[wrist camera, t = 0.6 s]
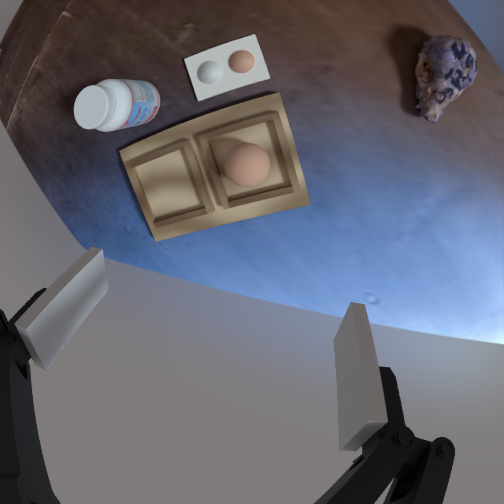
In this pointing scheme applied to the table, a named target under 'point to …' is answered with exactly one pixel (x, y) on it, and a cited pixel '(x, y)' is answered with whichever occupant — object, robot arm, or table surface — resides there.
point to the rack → (215, 169)
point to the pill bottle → (116, 104)
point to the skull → (443, 73)
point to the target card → (227, 67)
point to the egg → (247, 164)
